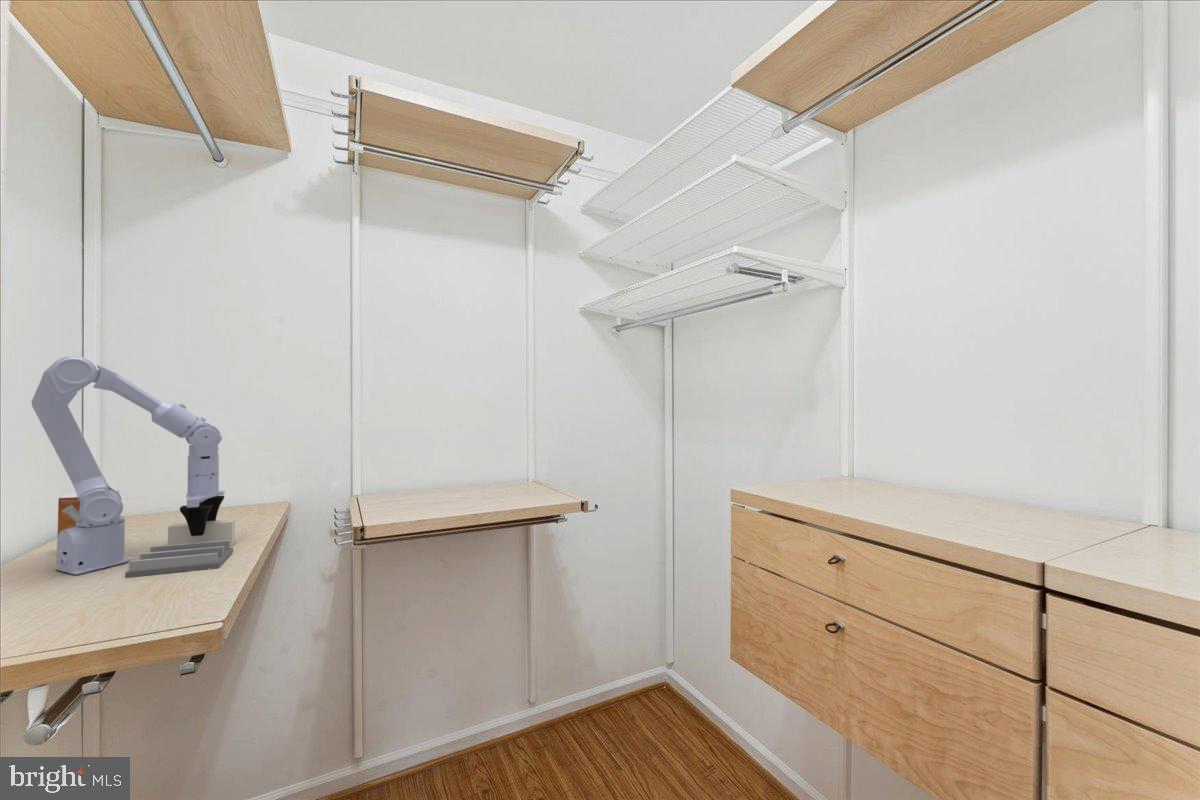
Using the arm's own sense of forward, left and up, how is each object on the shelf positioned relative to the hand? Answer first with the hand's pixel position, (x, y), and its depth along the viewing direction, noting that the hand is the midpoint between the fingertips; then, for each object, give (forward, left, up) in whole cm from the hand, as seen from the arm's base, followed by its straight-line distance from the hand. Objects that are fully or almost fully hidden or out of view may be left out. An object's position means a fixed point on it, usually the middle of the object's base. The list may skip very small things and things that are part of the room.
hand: (203, 531), depth 114 cm
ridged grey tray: (-9, -8, -4) cm, 13 cm away
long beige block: (0, 0, -4) cm, 4 cm away
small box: (-12, +21, -4) cm, 24 cm away
